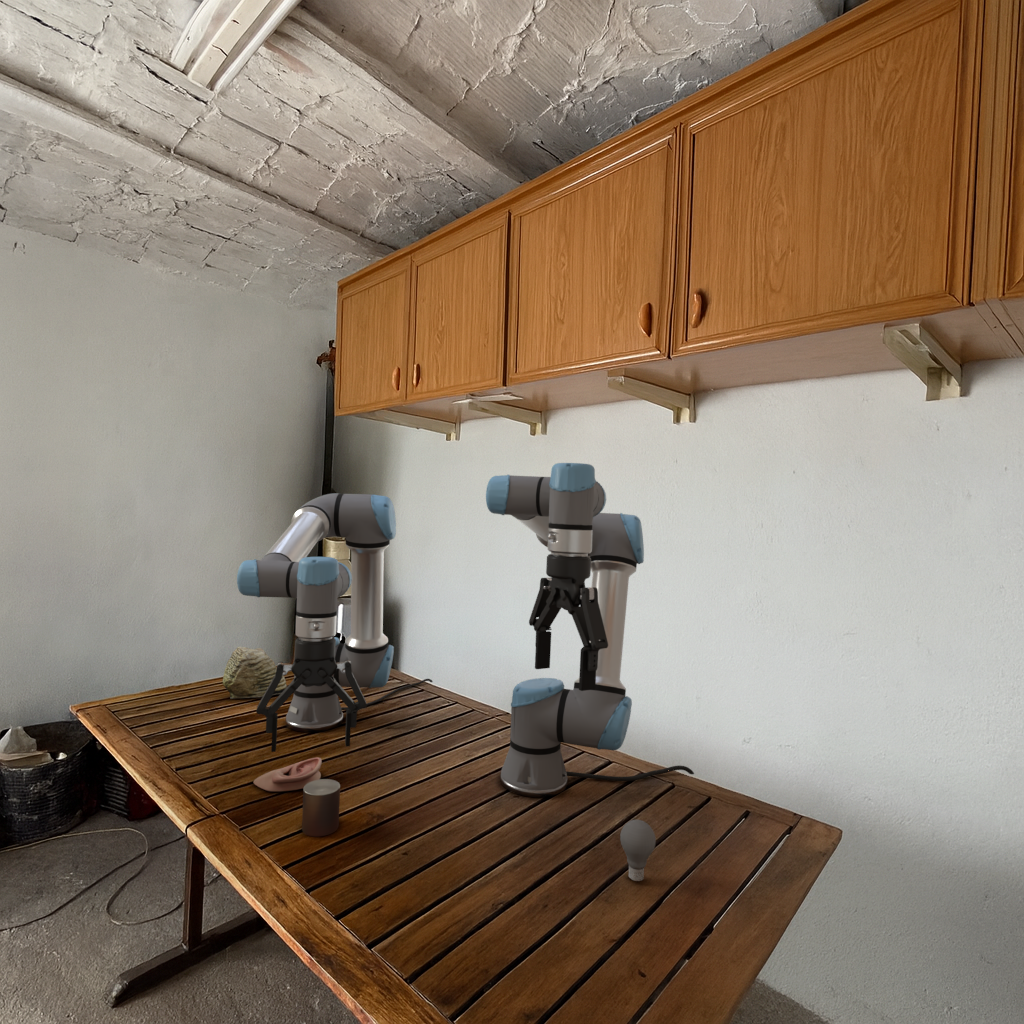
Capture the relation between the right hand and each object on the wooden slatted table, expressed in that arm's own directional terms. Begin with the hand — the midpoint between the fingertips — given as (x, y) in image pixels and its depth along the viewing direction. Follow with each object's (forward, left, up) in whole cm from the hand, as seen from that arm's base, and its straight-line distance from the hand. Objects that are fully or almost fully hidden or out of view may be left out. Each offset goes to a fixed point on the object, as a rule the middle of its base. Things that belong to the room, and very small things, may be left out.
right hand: (563, 678), depth 108 cm
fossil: (+33, -121, -34) cm, 130 cm away
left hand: (+34, -35, -19) cm, 53 cm away
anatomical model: (+34, -55, -34) cm, 74 cm away
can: (+32, -33, -34) cm, 57 cm away
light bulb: (-12, +7, -34) cm, 37 cm away
